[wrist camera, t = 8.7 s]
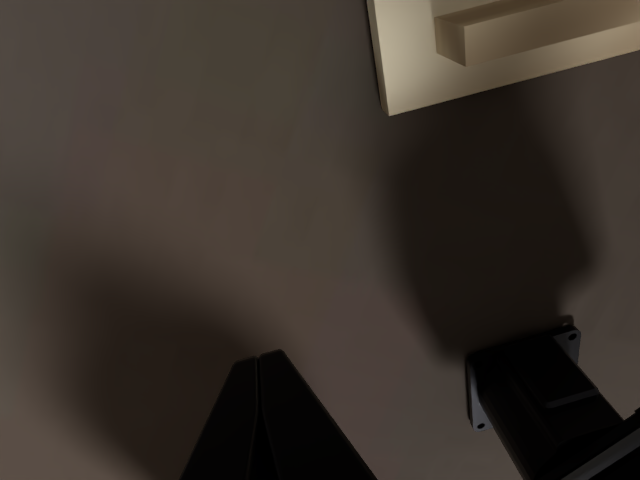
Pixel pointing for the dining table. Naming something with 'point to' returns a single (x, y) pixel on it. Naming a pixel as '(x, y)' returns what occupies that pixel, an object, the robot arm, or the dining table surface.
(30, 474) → the dining table surface
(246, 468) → the robot arm
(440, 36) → the gauge bed
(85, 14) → the dining table surface
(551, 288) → the dining table surface
